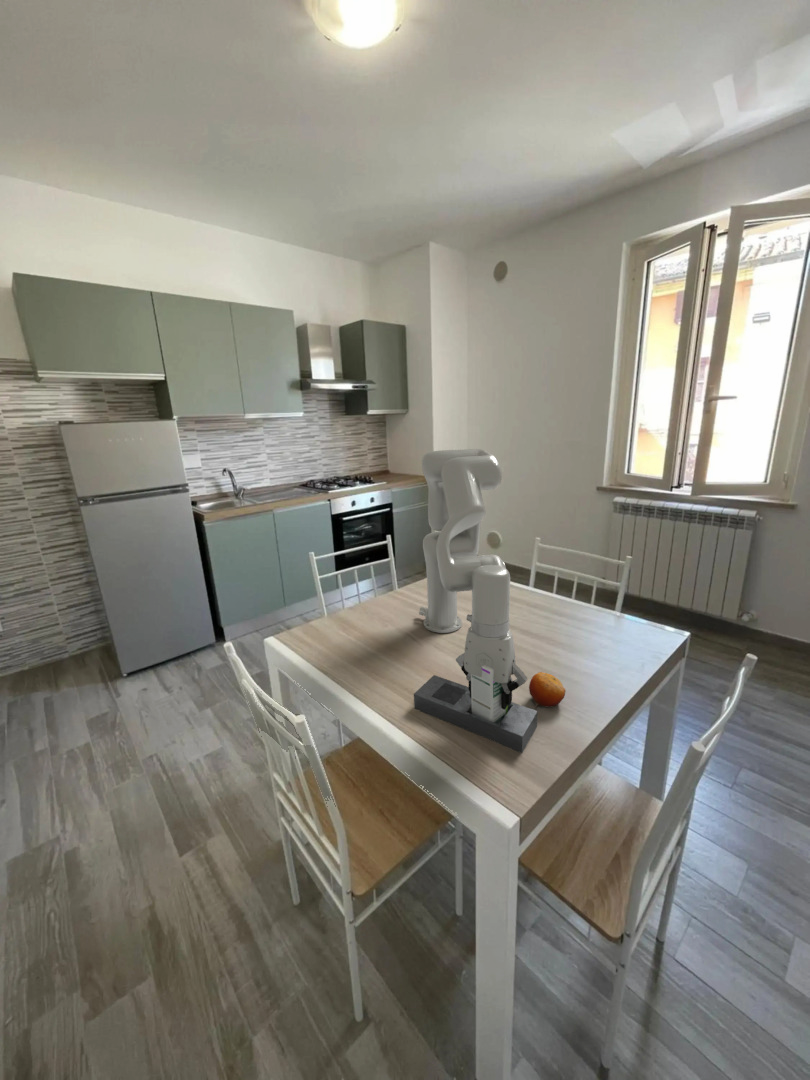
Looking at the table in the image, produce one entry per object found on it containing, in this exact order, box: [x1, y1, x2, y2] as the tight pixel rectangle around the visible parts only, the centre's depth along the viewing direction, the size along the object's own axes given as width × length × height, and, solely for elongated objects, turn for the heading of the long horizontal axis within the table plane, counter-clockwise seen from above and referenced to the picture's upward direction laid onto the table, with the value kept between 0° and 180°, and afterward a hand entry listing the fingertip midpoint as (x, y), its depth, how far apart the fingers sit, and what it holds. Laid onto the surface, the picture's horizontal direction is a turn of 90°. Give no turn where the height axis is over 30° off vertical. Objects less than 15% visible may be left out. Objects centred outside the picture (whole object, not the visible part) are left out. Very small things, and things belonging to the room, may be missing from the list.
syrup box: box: [471, 665, 508, 725], centre depth 91 cm, size 6×6×14 cm
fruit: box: [528, 671, 566, 709], centre depth 99 cm, size 8×8×8 cm
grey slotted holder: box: [413, 674, 539, 754], centre depth 95 cm, size 26×9×4 cm, turn 55°
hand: (489, 699), depth 92 cm, fingers closed on syrup box, 6 cm apart
